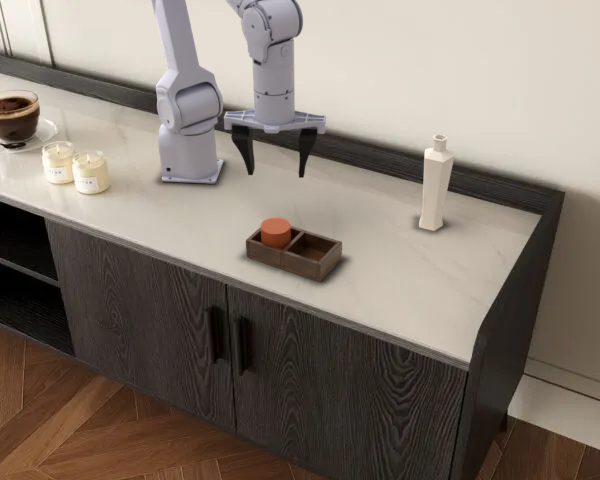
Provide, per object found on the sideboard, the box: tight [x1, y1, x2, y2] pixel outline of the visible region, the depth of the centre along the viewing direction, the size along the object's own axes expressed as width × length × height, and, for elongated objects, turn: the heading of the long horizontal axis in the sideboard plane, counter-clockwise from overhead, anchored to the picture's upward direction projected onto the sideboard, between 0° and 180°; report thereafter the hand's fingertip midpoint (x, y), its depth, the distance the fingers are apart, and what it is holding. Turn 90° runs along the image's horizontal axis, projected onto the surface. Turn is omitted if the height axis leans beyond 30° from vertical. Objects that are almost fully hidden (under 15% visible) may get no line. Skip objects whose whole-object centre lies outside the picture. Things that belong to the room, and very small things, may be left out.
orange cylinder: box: [260, 217, 292, 250], centre depth 113 cm, size 4×4×4 cm
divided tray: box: [245, 225, 343, 283], centre depth 113 cm, size 13×7×3 cm, turn 60°
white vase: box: [418, 133, 455, 232], centre depth 116 cm, size 5×4×15 cm
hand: (276, 173), depth 115 cm, fingers open, 7 cm apart
